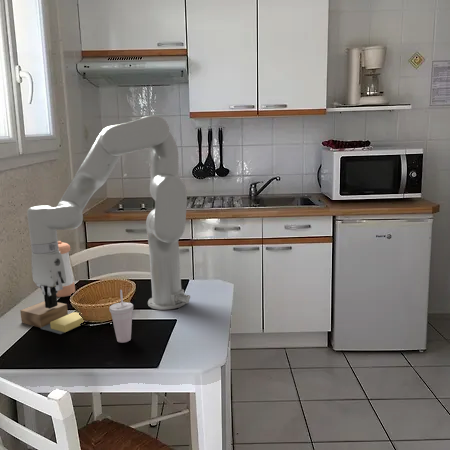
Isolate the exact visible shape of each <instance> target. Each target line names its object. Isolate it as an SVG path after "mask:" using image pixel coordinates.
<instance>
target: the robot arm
mask: <svg viewBox="0 0 450 450" xmlns="http://www.w3.org/2000/svg"><path fill="white" fill-rule="evenodd" d="M177 145H178V144H177V143H176V140H175V139H174V136H173V134H172V133H171V132H170V125H169V124H168V122H167V120H165V118H163V117H162V116H159V115H156V114H155V115H154V114H153V115H147V116H145V115H144V116H142V117H140V118H139V119H135V120H131V121H128V122H123V123H120V124H119V123H118V124H113V125H108V126H106V127H104V128H103V129H102V130H101V131H100V132H99V134H98V135H97V137H96V139H95V141H94V142H93V144H92V146H91V148H90V150H89V151H88V153H87V154H86V156H85V158H84V159H83V161H82V163H81V165H80V166H79V168H78V170H77V171H76V173H75V175H74V176H73V179H72V180H71V182H70V184H69V185H68V186H67V188H66V190H65V192H64V193H63V195H62V196H61V199H60V200H59V202H58V203H57V205H56V206H54V207H53V206H51V205H46V204H44V205H43V204H42V205H41V204H40V205H35V206H31V207H29V208H28V209H27V212H26V214H27V215H26V216H27V222H28V223H27V224H28V231H29V233H28V234H29V239H30V248H31V260H30V261H31V263H30V264H31V274H32V280H33V283H35V284H36V287H38V288H40V289H41V293H42V295H43V297H44V301H45V307H46V308H49V309H50V308H53V307H55V306H57V305H58V304H57V302H58V297H57V295H56V294H57V293H58V291H59V290H62V289H63V286H62V283H66V274H65V268H64V263H63V259H62V255H61V253H60V252H59V248H58V241H59V239H58V230H59V231H60V230H61V231H72V230H75V229H78V227H80V226H81V225H82V223H83V220H84V216H83V215H84V214H83V211H84V209H85V207H86V206H87V205H88V202H89V201H90V199H91V198H92V197H93V195H94V193H96V192H97V191H98V190H99V189H100V188H102V187H103V186H104V184H105V183H107V180H108V179H109V177H110V176H111V174H112V171H113V170H114V169H115V166H116V165H117V163H118V161H119V160H120V158H121V157H122V155H126V154H131V153H134V152H138V151H142V150H144V149H145V150H146V149H149V152H150V166H151V167H150V181H149V182H150V183H149V193H150V196H151V198H152V199H153V200H154V204H155V205H154V209H152V210H151V211H150V212H149V213H148V215H147V216H146V221H145V230H146V236H147V242H148V251H149V267H150V281H151V283H150V284H151V297H150V298H149V299H148V301H147V305H148V307H149V308H151V309H154V310H161V311H163V310H164V311H166V310H175V309H178V308H181V307H183V306H185V305H186V304H189V303H190V299H191V295H190V294H186V293H185V290H184V289H183V288H182V277H181V263H180V262H181V261H180V246H179V240H180V239H181V238H182V237H183V235H184V233H185V230H186V223H187V222H186V221H187V220H186V219H187V217H186V216H187V207H188V206H187V203H188V200H187V199H188V195H187V194H188V192H187V188H186V185H185V182H184V181H183V180H182V179H181V178H179V165H180V164H179V160H180V158H179V149H178V146H177Z"/></svg>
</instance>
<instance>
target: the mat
mask: <svg viewBox="0 0 450 450" xmlns="http://www.w3.org/2000/svg"><path fill="white" fill-rule="evenodd" d="M40 330H44V331H48V332H50V333H51V332H52V333H55V334H58V335H62V334H65V332H62V331H58V330H54V329H51V325H50V324H48V325H46V326H44V327H41V328H40Z"/></svg>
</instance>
